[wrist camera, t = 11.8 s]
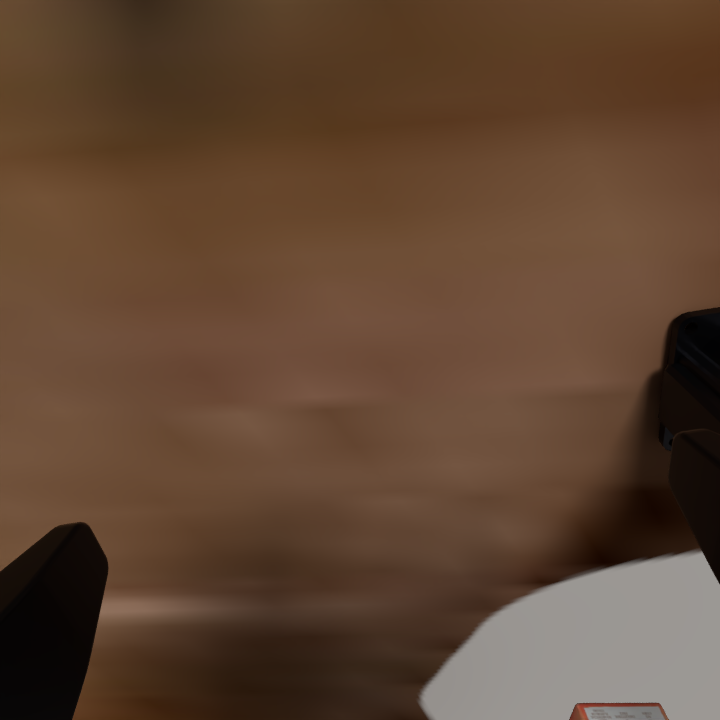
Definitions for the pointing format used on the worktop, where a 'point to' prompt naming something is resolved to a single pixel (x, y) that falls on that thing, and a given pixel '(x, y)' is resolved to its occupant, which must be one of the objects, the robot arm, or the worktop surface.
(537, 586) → the worktop surface
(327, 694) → the worktop surface
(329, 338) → the worktop surface
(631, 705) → the cracker box
